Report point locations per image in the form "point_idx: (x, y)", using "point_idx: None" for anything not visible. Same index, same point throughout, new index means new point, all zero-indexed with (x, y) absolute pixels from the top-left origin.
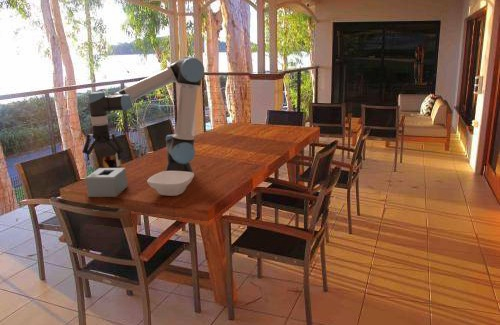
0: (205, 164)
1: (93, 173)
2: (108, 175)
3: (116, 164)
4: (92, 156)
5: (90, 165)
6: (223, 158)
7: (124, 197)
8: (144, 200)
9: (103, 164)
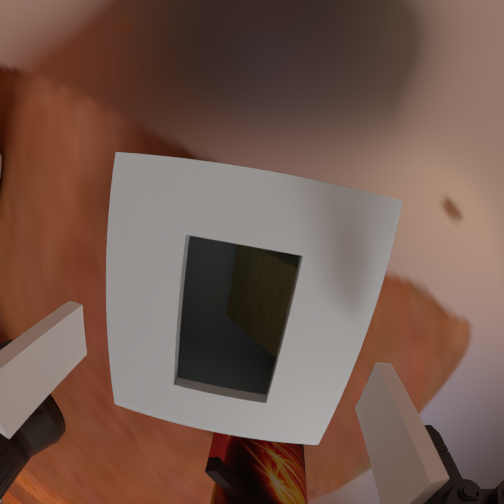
0: None
1: (350, 322)
2: (177, 214)
3: (225, 493)
4: (383, 484)
5: (393, 373)
6: None
7: (129, 140)
8: (46, 97)
9: (303, 501)
